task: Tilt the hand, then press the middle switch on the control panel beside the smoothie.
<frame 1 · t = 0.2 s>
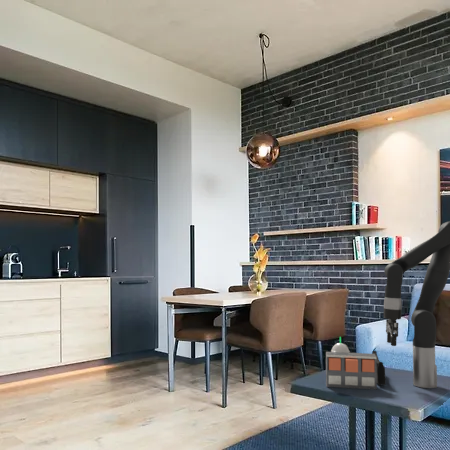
hand: (391, 344, 219), 18 cm above the table, tool pointing down, fingers open, 8 cm apart
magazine: (377, 380, 227), on the table
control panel: (350, 386, 213), on the table
switch 2: (351, 370, 210), point 8 cm above the table, slide at 0.0 cm
switch 3: (334, 369, 214), point 8 cm above the table, slide at 2.0 cm
switch 1: (367, 370, 211), point 8 cm above the table, slide at 2.0 cm
smoothie: (340, 381, 222), on the table
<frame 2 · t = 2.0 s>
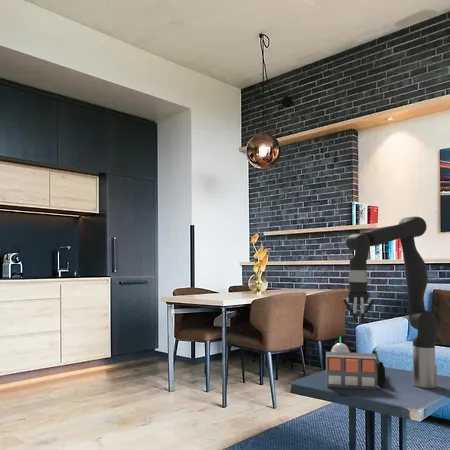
hand: (358, 322, 206), 29 cm above the table, tool pointing down, fingers closed
nothing on the table moved.
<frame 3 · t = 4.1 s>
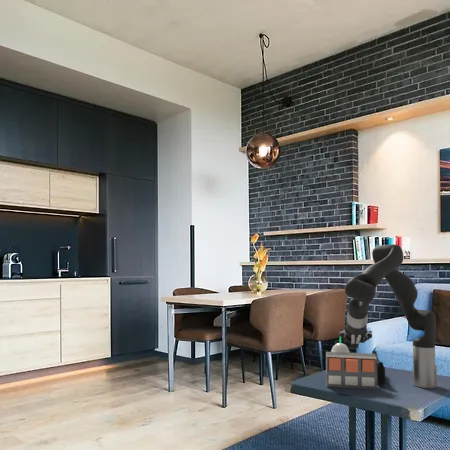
hand: (354, 347, 197), 20 cm above the table, tool tilted 45°, fingers closed
nothing on the table moved.
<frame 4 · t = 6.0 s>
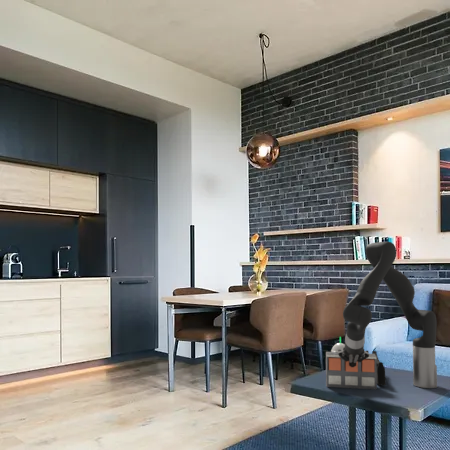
hand: (352, 365, 208), 10 cm above the table, tool tilted 45°, fingers closed
switch 2: (351, 370, 211), point 8 cm above the table, slide at 0.9 cm, touching gripper
everything else where it was.
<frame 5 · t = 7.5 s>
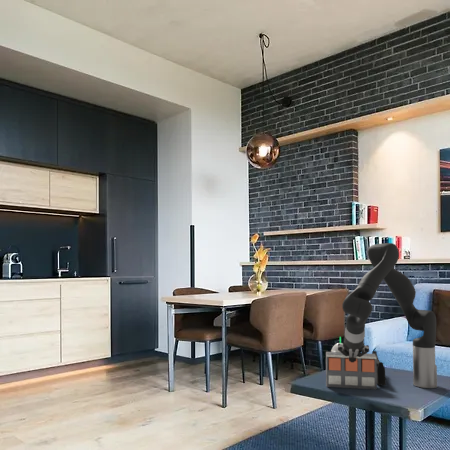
hand: (352, 360, 203), 13 cm above the table, tool tilted 45°, fingers closed
switch 2: (351, 369, 212), point 8 cm above the table, slide at 2.0 cm
everything else where it was.
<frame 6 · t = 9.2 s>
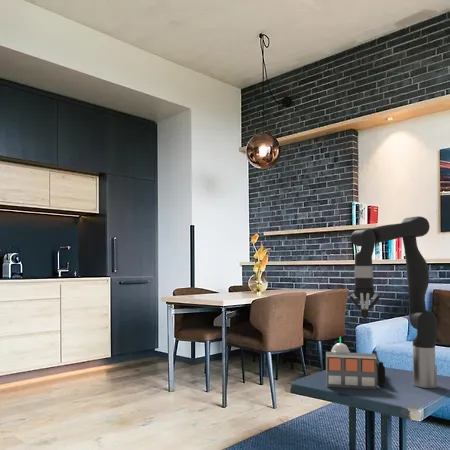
hand: (364, 318, 205), 31 cm above the table, tool pointing down, fingers closed
nothing on the table moved.
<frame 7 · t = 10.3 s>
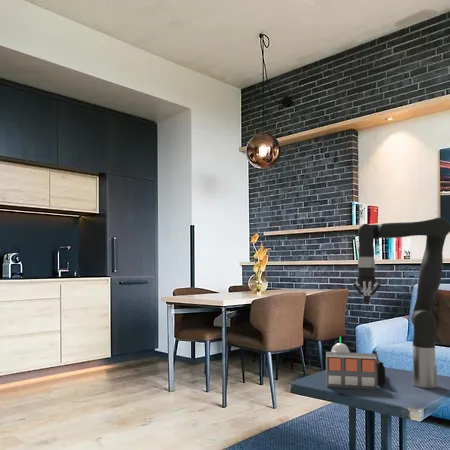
hand: (366, 304, 227), 35 cm above the table, tool pointing down, fingers closed
nothing on the table moved.
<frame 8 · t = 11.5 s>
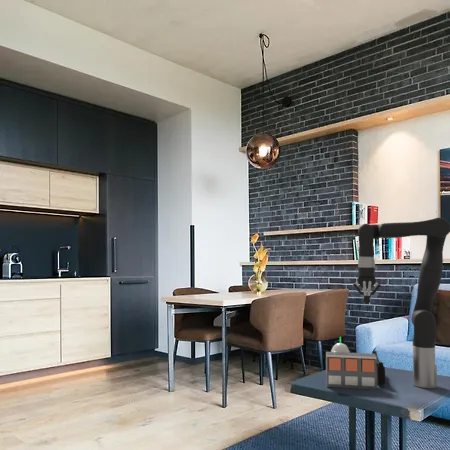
hand: (366, 303, 227), 35 cm above the table, tool pointing down, fingers closed
nothing on the table moved.
at the end: switch 2 slide at 2.0 cm; switch 1 slide at 2.0 cm; switch 3 slide at 2.0 cm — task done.
